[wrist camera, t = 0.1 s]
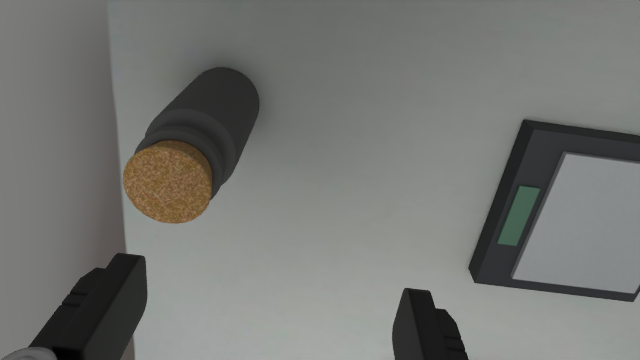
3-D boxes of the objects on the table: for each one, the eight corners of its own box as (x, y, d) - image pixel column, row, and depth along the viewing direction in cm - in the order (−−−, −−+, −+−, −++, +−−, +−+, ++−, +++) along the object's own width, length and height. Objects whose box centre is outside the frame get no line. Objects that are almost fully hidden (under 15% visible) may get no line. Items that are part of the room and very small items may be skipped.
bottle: (273, 112, 37) (243, 203, 24) (219, 145, 39) (161, 248, 26) (231, 52, 35) (172, 115, 22) (175, 90, 37) (87, 171, 23)
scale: (523, 119, 37) (537, 131, 35) (703, 144, 38) (730, 158, 35) (468, 268, 45) (476, 287, 42) (620, 287, 45) (637, 306, 43)
